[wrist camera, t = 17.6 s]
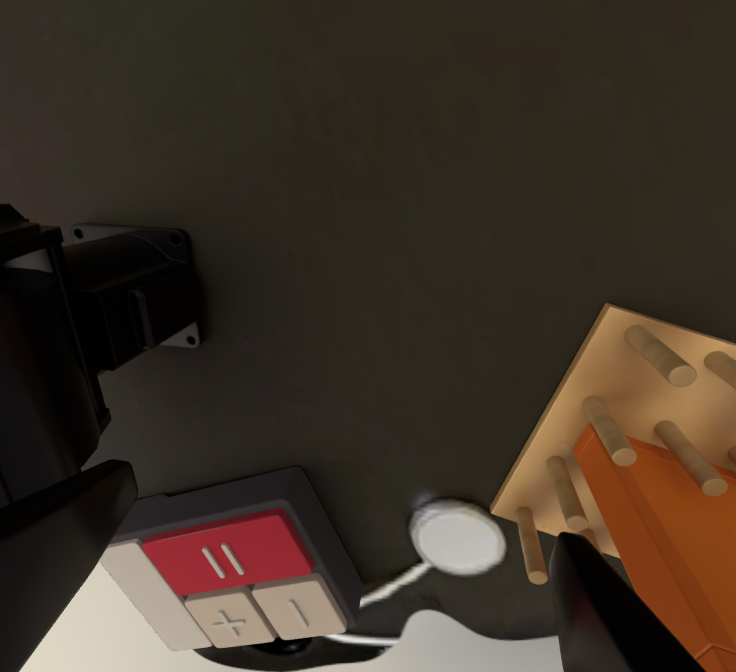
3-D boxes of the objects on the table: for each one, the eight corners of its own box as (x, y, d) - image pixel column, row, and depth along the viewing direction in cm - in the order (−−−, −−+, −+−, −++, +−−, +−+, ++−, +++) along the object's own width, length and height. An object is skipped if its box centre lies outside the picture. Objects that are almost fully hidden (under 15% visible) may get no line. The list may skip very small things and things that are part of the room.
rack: (489, 505, 24) (498, 578, 20) (605, 302, 18) (652, 342, 14) (723, 587, 23) (784, 679, 19) (919, 401, 18) (1066, 474, 13)
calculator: (357, 640, 25) (165, 663, 29) (366, 577, 29) (196, 604, 33) (281, 508, 22) (75, 553, 25) (303, 457, 26) (122, 502, 29)
